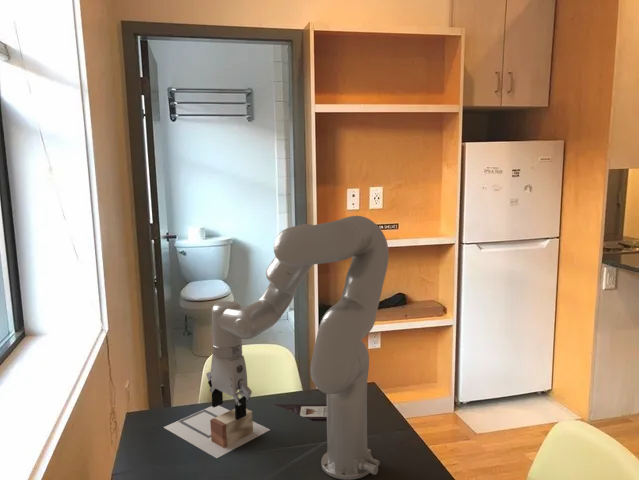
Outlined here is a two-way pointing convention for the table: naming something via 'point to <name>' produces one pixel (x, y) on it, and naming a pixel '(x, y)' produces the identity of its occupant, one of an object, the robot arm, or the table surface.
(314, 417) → the chocolate bar
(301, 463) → the table surface
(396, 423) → the table surface
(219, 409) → the mat
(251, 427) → the block
